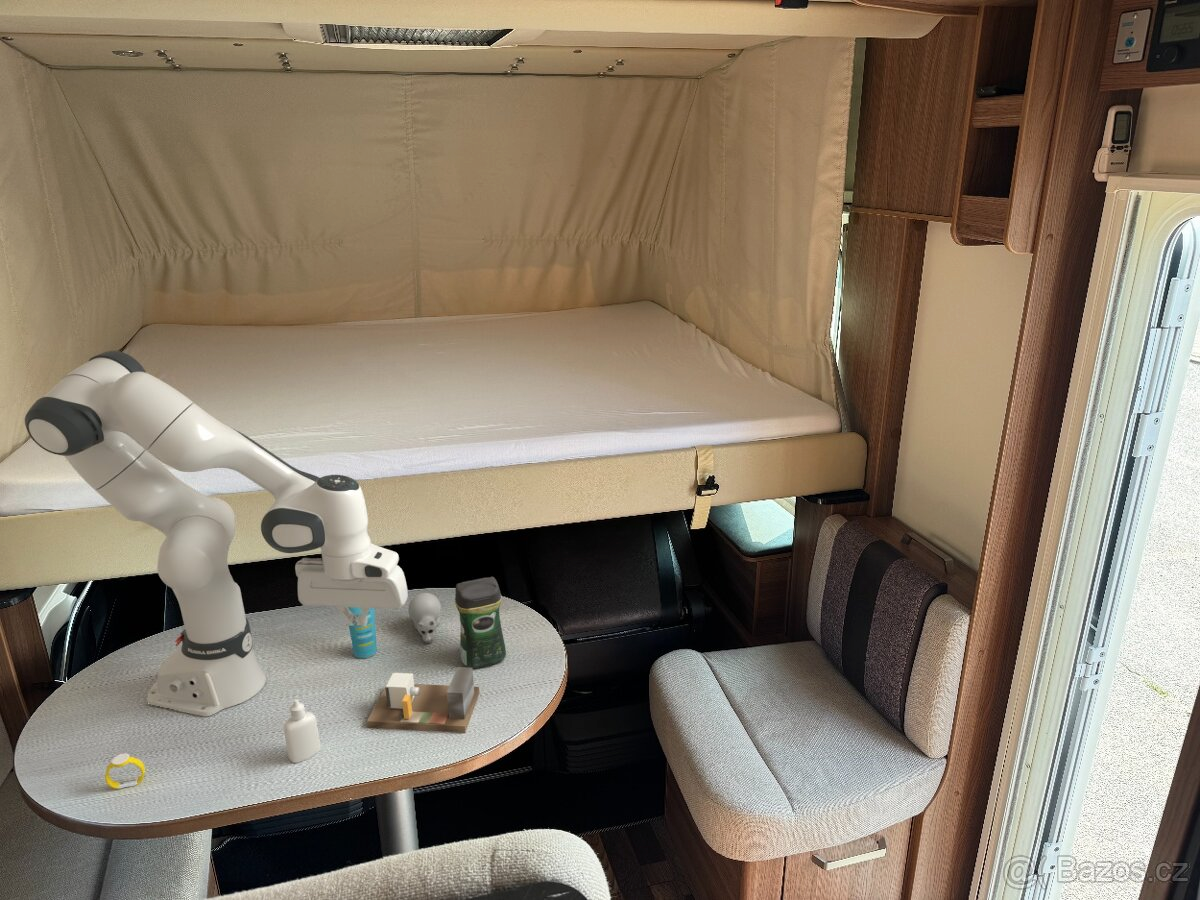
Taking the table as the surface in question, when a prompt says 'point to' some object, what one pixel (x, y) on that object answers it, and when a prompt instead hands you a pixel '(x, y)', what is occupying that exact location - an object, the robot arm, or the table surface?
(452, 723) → the bench
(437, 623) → the round bodied animal figurine
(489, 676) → the table surface
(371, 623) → the tube
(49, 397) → the robot arm
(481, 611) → the coffee jar
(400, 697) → the cream block with knob
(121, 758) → the watch
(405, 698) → the block
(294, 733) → the eye dropper bottle
